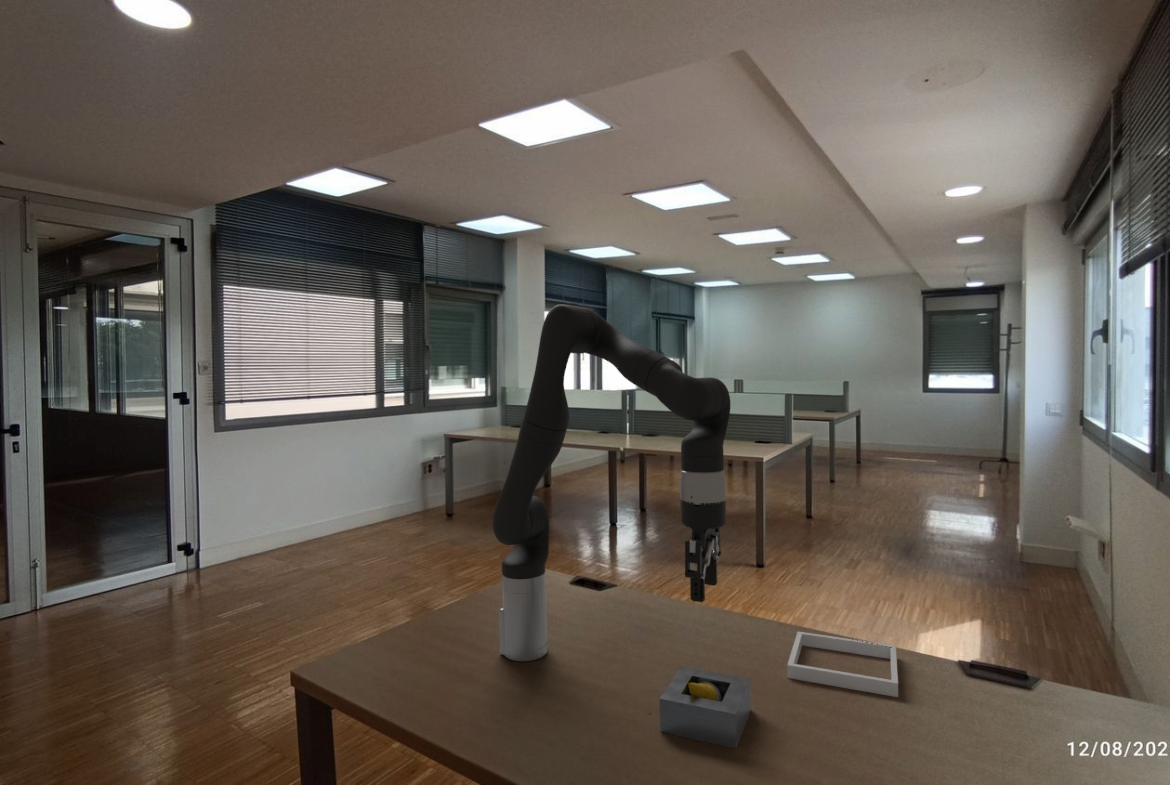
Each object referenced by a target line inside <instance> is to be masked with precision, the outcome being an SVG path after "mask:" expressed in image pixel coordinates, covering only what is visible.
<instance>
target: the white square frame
mask: <svg viewBox="0 0 1170 785" xmlns="http://www.w3.org/2000/svg"><path fill="white" fill-rule="evenodd" d="M857 640H858V641H857ZM862 641H863V642H862ZM866 642H868V643H866ZM871 643H873V644H871ZM877 644H878V645H877ZM882 645H883V646H882ZM885 646H887V647H885ZM803 647H808V648H817V649H823V650H829V651H837V652H843V653H850V654H856V655H862V656H868V657H874V658H875V657H876V658H880V659H881V658H883V659H887V660H890V678H891V679H887V678H880V677H875V676H869V675H865V674H864V675H863V674H857V673H851V672H846V671H838V670H834V669H827V668H821V667H815V666H810V665H803V664H799V658H800V655H801V652H802V651H801V650H802V648H803ZM889 647H892V648H889ZM788 658H789V659H788V661H787V664H786V665H787V666H786V668H787V672H786V673H787V674H786V675H787V679H791V680H798V681H804V682H808V683H814V684H821V685H826V686H832V687H837V688H838V687H839V688H843V689H849V690H854V691H860V692H864V693H865V692H867V693H871V694H877V695H883V696H888V697H894V698H899V676H898V662H897V661H898V660H897V646H896V645H894V644H888V643H887V644H886V643H878V642H873V641H867V640H859V639H853V640H852V639H851V638H845V637H839V636H830V635H825V634H818V633H812V632H811V633H810V632H804V631H796V636H795V639H794V642H793V645H792V648H791V651H790V654H789V657H788Z"/></svg>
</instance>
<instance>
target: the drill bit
mask: <svg viewBox="0 0 1170 785" xmlns="http://www.w3.org/2000/svg"><path fill="white" fill-rule="evenodd" d="M688 686H689V691H690V696H694V697H699V698H704V699H709V700H714V701H719V702H721V700H722V699H721V694H720V692H719V690H718V689H717V688H716V687H715V686H714V685H713V684H712V683H709V682H702V683H688Z"/></svg>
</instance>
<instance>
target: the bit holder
mask: <svg viewBox="0 0 1170 785" xmlns="http://www.w3.org/2000/svg"><path fill="white" fill-rule="evenodd" d="M702 682H709V683H712V684H713V685H714V686H715V687H716V688H717V689H718V690H719V692H720V694H721V699H722V700H721V702H719V701H714V700H709V699H704V698H699V697H694V696H690V691H689V686H688V683H702ZM751 692H752V690H751V678H748V677H744V676H738V675H734V674H733V675H732V674H726V673H722V672H715V671H710V670H705V669H699V668H694V667H689V666H688V667H687V666H682V665H680V667H679V669H678V671H676V673H675V675H674V676H673V678H672V679H671V680H670V682H669V684H668V685H667V687H666V688H665V689H664V691H663V692H662V694H661V695H660V697H659V732H661V733H665V734H669V735H674V736H679V737H683V738H686V739H687V738H688V739H692V740H695V741H700V742H705V743H708V744H713V745H718V746H721V747H726V748H729V749H734V750H737V748H738V745H739V743H740V740H741V738H742V736H743V732H744V729H745V727H746V725H747V722H748V719H749V717H750V716H749V715H750V713H751V711H752V707H751V706H752V699H751V698H752V697H751V695H752V694H751Z"/></svg>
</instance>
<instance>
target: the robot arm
mask: <svg viewBox="0 0 1170 785" xmlns="http://www.w3.org/2000/svg"><path fill="white" fill-rule="evenodd" d="M571 354H588V355H591V356H593V357H598V358H600V359H602V360H605V361H606V362H609V363H610V364H611V365H612V366H614V367H615V369H616V370H617V371H618V372H619V373H620V374H621V376H622V377H623V378H624V379H626V380H627V381H628V382H630V383H631V384H633V385H634V386H636V387H638V388H639V389H641V390H643V391H645V392H646V393H649V394H650V395H652V396H654V397H656V398H657V400H658V401H659V402H660V403H661V404H663V405H664V406H665V407H666V408H667V409H668V411H670V412H671V413H673V414H674V415H676V416H677V417H679V418H682V419H684V420H687V421H691V422H692V427H691V431H690V432H689V434H687V435H686V436H684V437H683V438H682V441H681V444H680V445H681V446H680V459H681V460H680V465H681V470H680V471H681V472H680V479H679V480H680V482H679V485H680V486H679V494H680V497H679V499H680V502H679V503H680V523H681V524H682V525H683V526H684V527H686V528H690V529H691V536H689V539H686V540H685V541H684V576H685V578H690V580H689V581H690V582H689V584H690V590H689V591H690V593H689V594H690V600H691V601H692V602H698V603H703V602H704V601H705V599H706V585H707V586H717V584H718V563H719V560H720V558H719V557H721V555H722V551H721V550H722V548H721V547H722V546H721V544H722V543H721V528H723V527H724V526H725V525H726V523H727V499H726V498H727V496H726V495H727V493H726V491H727V490H726V489H727V488H726V478H725V470H724V468H725V467H724V466H725V464H724V463H725V462H724V458H725V457H724V442H725V440H726V439H725V438H726V435H727V429H728V424H729V421H730V420H729V419H730V415H731V396H730V392H729V389H728V388H727V386H726V385H725V383H724V382H723V381H721V379H719V378H714V377H693V376H692V375H691V376H690V375H688V374H686V373H685V372H683V369H682V366H680V364H678V363H677V362H676V361H675V360H674V359H673V360H672V359H671V358H669V357H667V356H666V355H663V354H662V353H659V352H657V351H656V350H654V349H652V348H649V347H647V346H645V345H644V344H641V343H639V342H637V341H636V340H634V339H632V338H631V337H628V336H627V335H625V334H624V333H622V332H621V331H619V330H618V329H617V328H615V327H614V326H613V325H611V324H610V323H609V322H608V321H607V320H606V319H605V318H603V317H602V316H600V315H599V314H598V313H596V312H595V311H594V310H592V309H590V308H587V307H583V306H581V307H580V306H576V305H570V304H557V305H555V306H553V307H552V308H550V310H549V311H548V313H547V314H546V315H545V319H544V320H543V324H542V328H541V333H540V338H539V344H538V352H537V357H536V364H535V369H534V374H533V379H532V382H531V388H530V392H529V395H528V396H529V397H528V399H527V403H526V405H525V406H526V407H525V409H524V413H523V417H522V420H521V424H520V428H519V432H518V437H517V443H516V444H515V449H514V452H513V454H512V458H511V462H510V466H509V468H508V469H509V470H508V473H507V476H506V479H505V481H504V484H503V487H502V489H501V492H500V494H499V497H498V499H497V502H496V504H495V507H494V511H493V515H492V529H493V534H494V535H495V538H496V539H497V540H498V542H500V543H501V544H503V545H505V546H512V549H511V551H510V552H509V553H508V554H507V555H506V556H505V557H504V558H503V559H502V561H501V580H502V581H501V586H502V589H501V590H502V591H501V592H502V607H501V608H499V610H498V623H499V624H498V628H499V654H500V655H503V656H504V657H505V658H507V659H508V660H510V661H515V662H531V661H535V660H539V659H541V658H543V657H545V655H546V654H547V653H548V633H547V632H548V631H547V630H548V626H547V590H546V589H547V586H546V584H547V583H546V563H547V561H548V559H549V558H548V557H549V554H550V552H549V551H550V550H549V549H550V516H549V511H548V508H547V506H546V504H545V502H544V501H543V499H541V498H540V497H539V496H537V495H534V494H535V491H536V489H537V487H538V485H539V483H540V482H541V480H542V478H543V477H544V476H545V474H546V473H547V471H548V470H549V469H550V467H551V466H552V464H553V463H554V462H555V460H556V459H557V457H558V455H559V453H560V452H561V450H562V447H563V446H564V440H565V437H566V434H567V431H568V426H569V424H570V411H569V410H570V409H569V404H568V399H567V396H566V391H565V374H566V370H567V366H568V363H569V358H570V355H571ZM695 566H696V570H694V569H695Z"/></svg>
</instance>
